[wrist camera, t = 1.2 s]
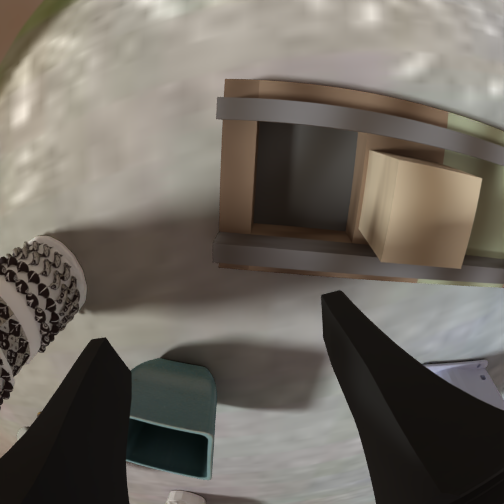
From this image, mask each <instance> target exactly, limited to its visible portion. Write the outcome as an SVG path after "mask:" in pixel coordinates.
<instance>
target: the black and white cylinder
mask: <svg viewBox="0 0 504 504" xmlns="http://www.w3.org/2000/svg"><path fill="white" fill-rule="evenodd" d="M23 246H24V247H23V248H22V249H21V248H20V247H18V248H14V249H13V255H10V254H7V255H6V257H1V258H0V405H1V404H2V403H3V399H9V397H10V393H9V392H12V391H13V386H14V384H15V381H14V376H15V375H17V374H18V372H19V371H20V369H21V368H22V366H23V365H25V364H29V362H30V361H31V360H32V359H33V358H34V356H35V355H36V354H37V352H40V353H43V352H44V351H45V349H46V348H45V346H48V345H49V343H50V342H52V341H54V335H57V334H58V333H59V331H62V330H64V329H65V327H66V324H67V323H68V322H69V321H71V320H72V319H73V318H74V315H75V314H76V313H77V312H78V311H79V310H80V308H81V307H82V306H83V304H84V303H85V301H86V293H87V285H86V281H85V276H84V272H83V270H82V268H81V266H80V264H79V263H78V261H77V259H76V257H75V255H74V254H73V253H72V252H71V251H70V250H69V249H68V248H67V247H66V246H65V245H64V244H63V243H62V242H60V241H58V240H56V239H54V238H52V237H50V236H36V237H35V238H33V239H32V240H31V241H29V242H24V244H23ZM0 409H1V407H0Z"/></svg>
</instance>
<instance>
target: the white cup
mask: <svg viewBox="0 0 504 504" xmlns="http://www.w3.org/2000/svg"><path fill="white" fill-rule="evenodd" d="M165 504H206V501H205V499H204V498H203V497H201V496H199V495H197V494H194V493H191V492H186V491H179V490H175V491H171V492H170V493H169V496H168V499H167V502H166V503H165Z"/></svg>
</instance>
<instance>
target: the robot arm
mask: <svg viewBox="0 0 504 504" xmlns="http://www.w3.org/2000/svg"><path fill="white" fill-rule="evenodd" d="M321 302H322V321H323V338H324V342H325V345H326V348H327V352H328V355H329V358H330V362H331V365H332V367H333V370H334V372H335V374H336V377H337V379H338V382H339V384H340V386H341V389H342V391H343V393H344V396H345V398H346V401H347V403H348V405H349V408H350V410H351V413H352V415H353V417H354V420H355V423H356V426H357V428H358V431H359V435H360V439H361V442H362V446H363V449H364V453H365V457H366V461H367V465H368V469H369V473H370V477H371V481H372V486H373V491H374V495H375V500H376V504H504V400H503V398H502V396H501V394H500V392H499V391H498V389H497V387H496V386H495V384H494V382H493V381H492V379H491V377H490V376H489V374H488V372H487V371H486V369H485V368H486V367H487V365H488V361H487V360H478V361H468V362H456V363H443V364H426V365H422V364H421V363H420V362H418V361H417V360H416V359H414V358H413V357H412V356H410V355H409V354H408V353H407V352H405V351H404V350H403V349H402V348H401V347H399V346H398V345H397V344H396V343H395V342H393V341H392V340H391V339H390V338H389V337H388V336H387V335H386V334H384V333H383V332H382V331H381V330H380V329H379V328H378V327H377V326H376V325H375V324H374V323H373V322H371V321H370V320H369V319H368V318H367V317H366V316H365V315H364V314H363V313H362V312H361V311H360V310H359V309H358V308H357V307H356V306H355V305H354V304H353V302H352V301H351V300H350V299H349V298H348V297H347V296H346V295H345V294H344V293H343V292H342V291H340V290H339V291H335V292H331V293H327V294H323V295H321ZM131 401H132V372H131V371H130V370H129V369H128V367H127V366H126V365H125V363H124V362H123V361H122V359H121V358H120V357H119V355H118V354H117V353H116V351H115V350H114V348H113V347H112V346H111V344H110V343H109V341H108V340H107V339H106V337H105V338H98V339H92V340H91V341H90V342H89V343H88V345H87V346H86V347H85V349H84V350H83V352H82V353H81V355H80V356H79V357H78V359H77V360H76V362H75V363H74V365H73V366H72V368H71V369H70V371H69V372H68V374H67V375H66V377H65V378H64V380H63V382H62V383H61V385H60V386H59V388H58V389H57V391H56V392H55V393H54V395H53V396H52V398H51V399H50V401H49V402H48V403H47V405H46V406H45V408H44V409H43V411H42V412H41V413H40V415H39V416H38V417H37V419H36V420H35V421H34V422H33V424H32V425H31V426H30V427H29V429H28V430H27V431H26V432H25V433H24V435H23V436H22V437H21V438H20V439H19V440H18V441H17V442H16V443H15V444H14V445H13V446H12V448H11V449H10V450H9V451H8V452H7V453H6V454H5V455H3V456H2V457H1V458H0V504H129V497H128V488H127V476H126V448H127V438H128V428H129V419H130V410H131Z"/></svg>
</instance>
